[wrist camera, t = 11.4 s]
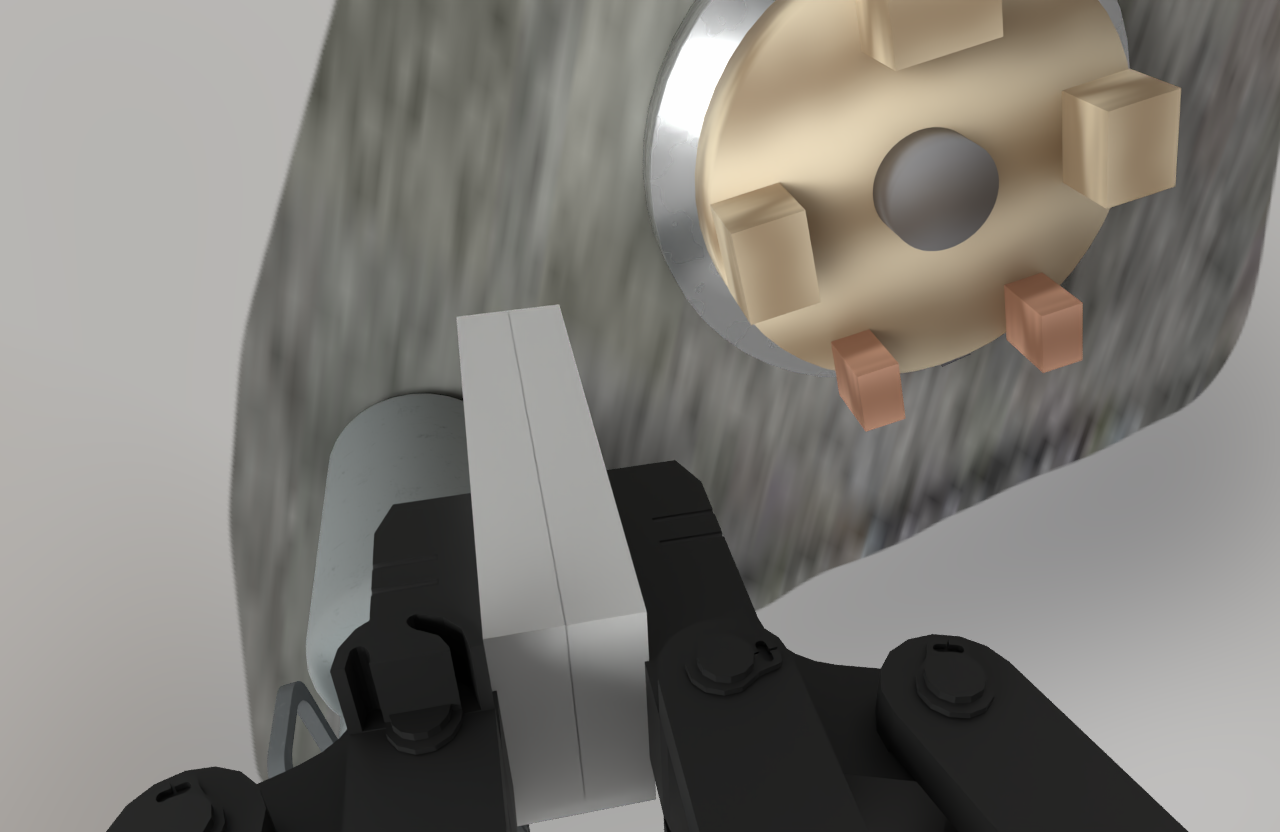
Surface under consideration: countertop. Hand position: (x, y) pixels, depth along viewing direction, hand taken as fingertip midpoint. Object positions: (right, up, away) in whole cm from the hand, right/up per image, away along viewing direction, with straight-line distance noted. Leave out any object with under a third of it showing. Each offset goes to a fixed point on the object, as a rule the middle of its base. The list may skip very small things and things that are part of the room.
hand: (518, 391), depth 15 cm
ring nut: (+14, +12, +32) cm, 37 cm away
